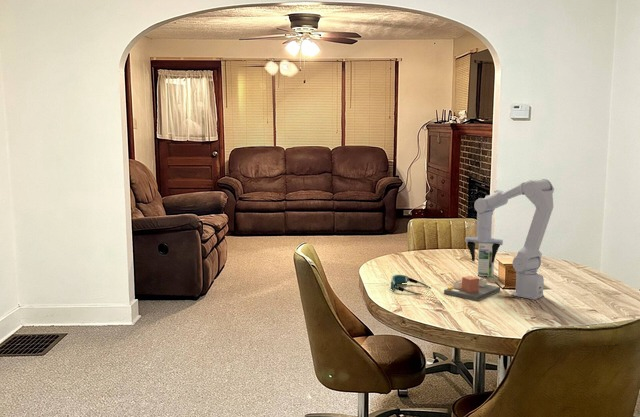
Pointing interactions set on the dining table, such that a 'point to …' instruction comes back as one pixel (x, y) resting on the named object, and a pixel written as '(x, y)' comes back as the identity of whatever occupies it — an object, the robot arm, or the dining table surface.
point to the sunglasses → (403, 279)
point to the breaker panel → (476, 296)
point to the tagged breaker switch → (457, 284)
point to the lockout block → (470, 284)
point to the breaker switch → (482, 282)
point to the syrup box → (485, 260)
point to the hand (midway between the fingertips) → (483, 261)
